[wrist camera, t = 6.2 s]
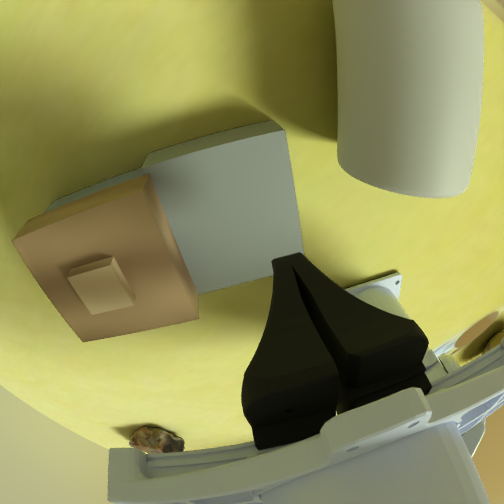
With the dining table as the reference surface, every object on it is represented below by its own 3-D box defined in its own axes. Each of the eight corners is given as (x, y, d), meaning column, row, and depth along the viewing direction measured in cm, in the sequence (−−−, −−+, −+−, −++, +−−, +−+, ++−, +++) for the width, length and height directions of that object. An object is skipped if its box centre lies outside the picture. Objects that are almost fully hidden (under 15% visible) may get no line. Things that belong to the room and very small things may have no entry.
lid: (197, 293, 21) (199, 328, 18) (89, 318, 21) (80, 350, 18) (149, 173, 16) (139, 197, 13) (27, 220, 16) (5, 248, 13)
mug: (297, -21, 11) (306, 163, 17) (457, -30, 5) (442, 218, 12) (400, 13, 16) (399, 134, 23) (501, 28, 11) (490, 166, 17)
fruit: (485, 328, 40) (513, 370, 32) (519, 311, 41) (546, 347, 33) (460, 366, 47) (483, 405, 38) (495, 348, 48) (517, 381, 40)
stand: (294, 242, 24) (305, 266, 21) (192, 269, 23) (192, 295, 21) (272, 119, 18) (285, 129, 16) (148, 153, 18) (140, 168, 15)
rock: (151, 418, 38) (111, 440, 38) (164, 454, 34) (121, 473, 34) (188, 423, 44) (148, 445, 44) (201, 454, 40) (159, 473, 40)
